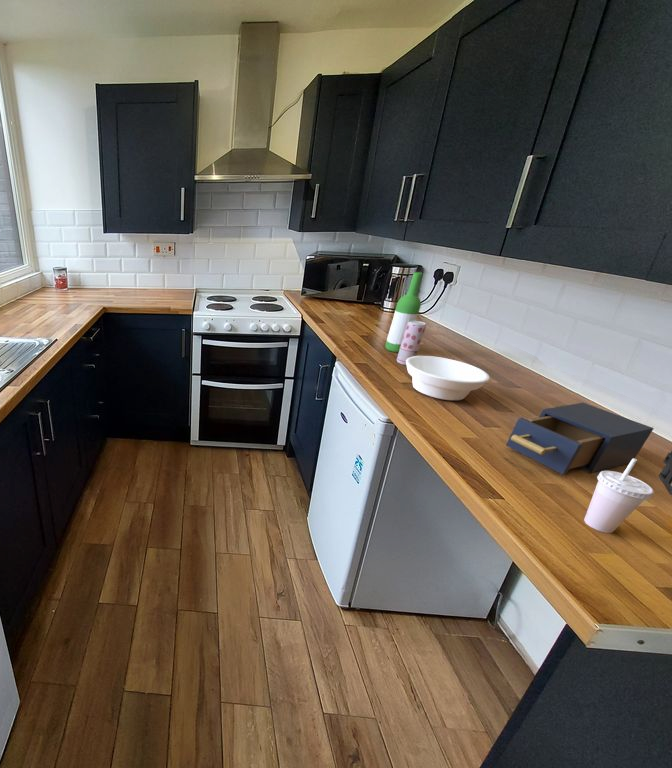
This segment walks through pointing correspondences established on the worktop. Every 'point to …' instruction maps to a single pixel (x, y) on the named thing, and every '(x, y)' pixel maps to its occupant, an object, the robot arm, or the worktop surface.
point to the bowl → (444, 377)
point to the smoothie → (615, 499)
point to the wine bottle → (404, 314)
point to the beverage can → (411, 341)
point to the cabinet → (605, 433)
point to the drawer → (554, 443)
